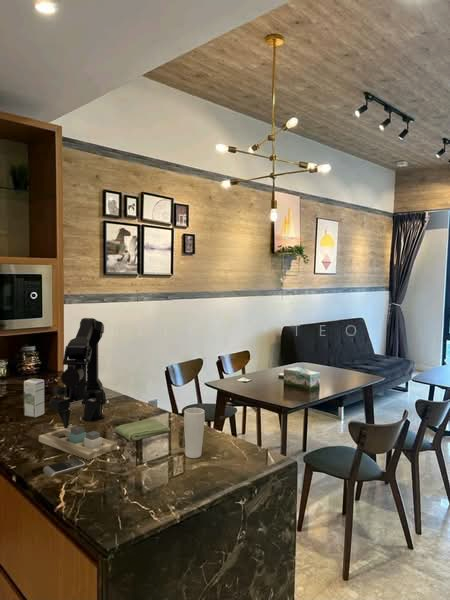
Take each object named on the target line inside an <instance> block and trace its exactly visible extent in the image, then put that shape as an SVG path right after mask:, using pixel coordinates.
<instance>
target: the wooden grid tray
mask: <svg viewBox="0 0 450 600" xmlns="http://www.w3.org/2000/svg"><path fill="white" fill-rule="evenodd" d="M71 428H72V427H71V426H68V428H67V429H66V428H64V427H62V428H60V429H56V430H53V431H50V432H47V433H43V434H40V435H38V442H40V443H41V444H44V445H47V446H50V447H51V448H55V449H57V450H59V451H63V452H65V453H68V454H71V455H73V456H76V457H78V456H79V457H78V458H81V457H82V458H81V459H83V458H84V459H83V460H86V459H87V461H90V459H91V460H92V458H93V459H96V458H98V457H99V456H102V454H103V455H105V454H107V452H108V453H110V452H113V451H115V450H117V449H118V442H116V441H114V440H113V441H112V440H109V439H106V438H103V437H102V446H100V447H98V448H95V449H92V450H91V449H88V448H86V447H84V441H83V442H80V443H77V444H74V443H72V442H69V433H70V432H71ZM64 436H65V437H64ZM61 437H62V438H61ZM112 450H113V451H112ZM97 456H98V457H97Z"/></svg>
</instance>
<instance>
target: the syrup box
mask: <svg viewBox="0 0 450 600" xmlns="http://www.w3.org/2000/svg"><path fill="white" fill-rule="evenodd" d="M44 414H45V379H41V378H40V379H39V378H29V379H27V380H24V381H23V417H28V418H29V417H30V418H38V417H40V416H43V415H44Z"/></svg>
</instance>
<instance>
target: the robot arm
mask: <svg viewBox="0 0 450 600" xmlns="http://www.w3.org/2000/svg"><path fill="white" fill-rule="evenodd" d="M76 333H77V334H76V336H75V337H74V338H72V339H70V340H69V342H68V343H67V345H66V346H65V349H64V354H63V360H62V366H64V365H65V366H67V368H66V369H65V370H64V371H63V372H62V374H61V376H60V379H61V382H62V384H63V385H64V386H63V387H62V386H61V385H56V386H55V385H54V386H53V391H52V392H53V395H54V396H55V397H56V396H58V398H54V399H50V401H48V402H49V403H48V409H49V410H52V411H54V412H56V413H57V414H58V415H59V418H60V421H61V422H62V424H63V428H66V429H67V428H68V427H69V425H70V424H69V422H70V417H71V409H70V407H71V405H73V404H77V403H81V405H82V406H84V407H83V408H84V409H83V416H81V418H82V419H84V420H86V421H87V422H95V421H98V420H101V419H104V418H105V415H103V405H105V404H107V396H106V393H105V390H104V388H103V387H104V386H103V383H102V382H101V379H100V378H99V342H101V339H102V337H103V334H104V333H105V325H104V323H103V322H102V321H100V320H97V319H96V318H92V317H91V318H90V317H84V318H81V320H80V322H79V328H78V330H77V332H76Z"/></svg>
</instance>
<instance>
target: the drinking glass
mask: <svg viewBox="0 0 450 600" xmlns="http://www.w3.org/2000/svg"><path fill="white" fill-rule="evenodd" d="M183 413H184V414H183V429H184V432H183V433H184V444H185V445H184V446H185V447H184V448H185V451H184V454H185V456H186V457H187V458H188V459H198V458H200V457H202V453H203V450H202V449H203V440H204V431H205V430H204V429H205V422H206V419H205V417H206V416H205V413H206V412H205V410H204V409H203V408H201V407H200V408H199V407H190V408H189V407H188V408H186V409H184V411H183Z"/></svg>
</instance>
